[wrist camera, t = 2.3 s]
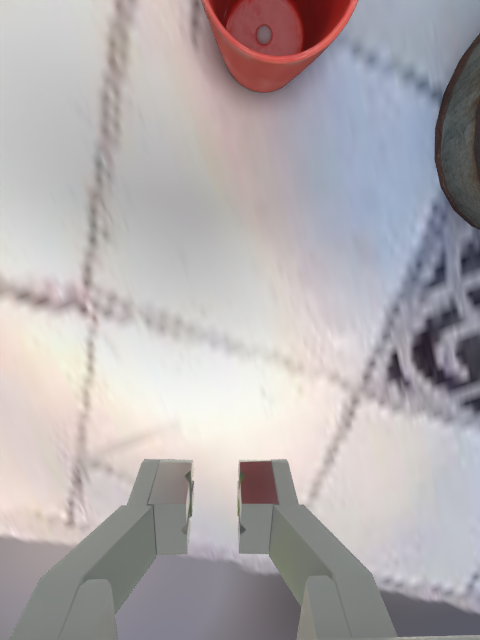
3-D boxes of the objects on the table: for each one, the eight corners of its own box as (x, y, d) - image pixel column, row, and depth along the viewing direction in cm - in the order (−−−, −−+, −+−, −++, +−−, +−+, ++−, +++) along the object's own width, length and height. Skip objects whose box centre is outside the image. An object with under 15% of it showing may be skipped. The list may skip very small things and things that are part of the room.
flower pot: (248, -68, 26) (259, -226, 17) (345, 28, 28) (403, -65, 19) (182, 57, 28) (159, -20, 19) (276, 135, 31) (297, 100, 21)
